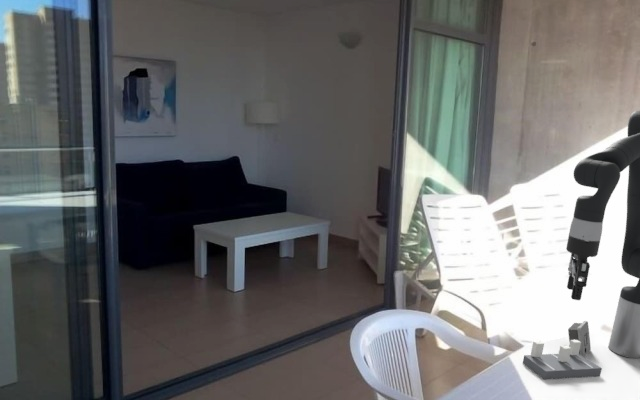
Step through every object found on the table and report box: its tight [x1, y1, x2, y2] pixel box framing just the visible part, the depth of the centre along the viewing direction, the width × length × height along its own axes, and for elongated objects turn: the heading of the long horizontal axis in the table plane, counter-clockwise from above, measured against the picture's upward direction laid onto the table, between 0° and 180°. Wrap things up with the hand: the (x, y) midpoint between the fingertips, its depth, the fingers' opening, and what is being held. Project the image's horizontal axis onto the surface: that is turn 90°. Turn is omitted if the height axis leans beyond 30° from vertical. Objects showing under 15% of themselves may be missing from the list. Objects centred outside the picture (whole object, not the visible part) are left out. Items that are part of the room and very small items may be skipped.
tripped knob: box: [558, 345, 571, 362], centre depth 153 cm, size 2×2×4 cm
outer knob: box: [530, 340, 545, 357], centre depth 154 cm, size 2×2×4 cm
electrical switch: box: [567, 320, 591, 358], centre depth 167 cm, size 9×5×9 cm, turn 141°
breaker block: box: [522, 353, 603, 381], centre depth 153 cm, size 19×9×3 cm, turn 108°
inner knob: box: [568, 339, 581, 355], centre depth 158 cm, size 2×2×4 cm
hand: (573, 294), depth 146 cm, fingers open, 8 cm apart
